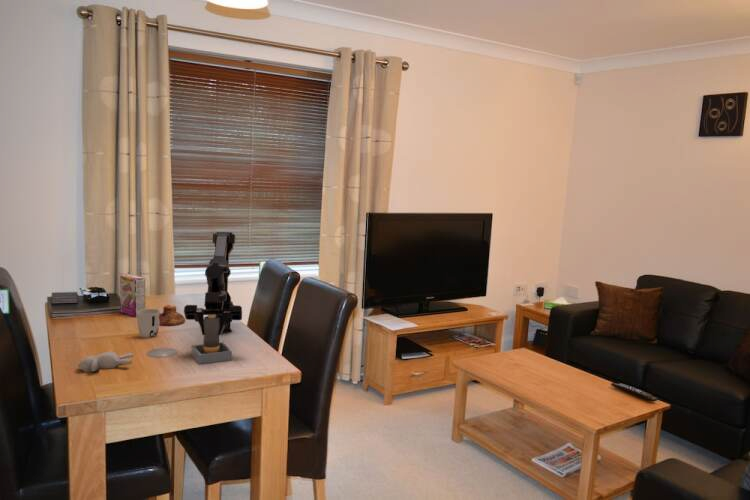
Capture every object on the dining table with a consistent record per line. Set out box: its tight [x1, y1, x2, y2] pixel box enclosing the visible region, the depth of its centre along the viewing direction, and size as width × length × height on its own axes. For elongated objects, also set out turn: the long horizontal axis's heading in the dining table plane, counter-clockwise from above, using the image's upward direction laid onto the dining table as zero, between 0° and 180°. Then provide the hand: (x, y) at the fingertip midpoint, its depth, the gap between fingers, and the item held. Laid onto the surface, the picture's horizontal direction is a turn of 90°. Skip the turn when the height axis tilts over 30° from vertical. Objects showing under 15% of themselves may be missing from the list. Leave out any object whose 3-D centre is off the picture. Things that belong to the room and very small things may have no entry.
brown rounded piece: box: [159, 304, 186, 327], centre depth 231 cm, size 12×12×7 cm
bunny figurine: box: [77, 350, 134, 373], centre depth 177 cm, size 10×5×15 cm
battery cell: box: [203, 314, 221, 354], centre depth 189 cm, size 5×5×13 cm
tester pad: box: [145, 347, 179, 359], centre depth 191 cm, size 10×10×1 cm
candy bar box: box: [119, 273, 146, 318], centre depth 239 cm, size 11×5×16 cm, turn 58°
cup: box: [136, 308, 161, 339], centre depth 209 cm, size 8×8×10 cm
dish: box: [191, 341, 233, 365], centre depth 190 cm, size 11×11×4 cm
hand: (211, 334), depth 187 cm, fingers closed on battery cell, 5 cm apart
